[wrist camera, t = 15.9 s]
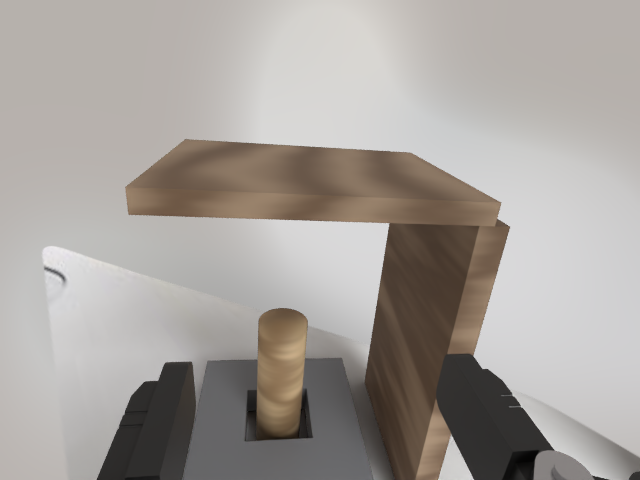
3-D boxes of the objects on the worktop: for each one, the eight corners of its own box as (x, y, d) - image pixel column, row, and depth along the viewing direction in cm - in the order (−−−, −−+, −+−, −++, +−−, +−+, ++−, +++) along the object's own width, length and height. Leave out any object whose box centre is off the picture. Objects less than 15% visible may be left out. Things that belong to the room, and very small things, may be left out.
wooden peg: (297, 416, 43) (305, 308, 37) (300, 452, 39) (309, 336, 33) (256, 418, 42) (259, 308, 37) (255, 454, 38) (258, 337, 33)
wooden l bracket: (379, 381, 49) (420, 153, 38) (428, 513, 34) (516, 203, 23) (198, 387, 46) (185, 139, 35) (165, 535, 31) (125, 187, 20)
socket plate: (339, 377, 49) (341, 358, 48) (370, 506, 34) (374, 483, 33) (208, 380, 47) (207, 360, 45) (181, 520, 32) (179, 496, 31)
